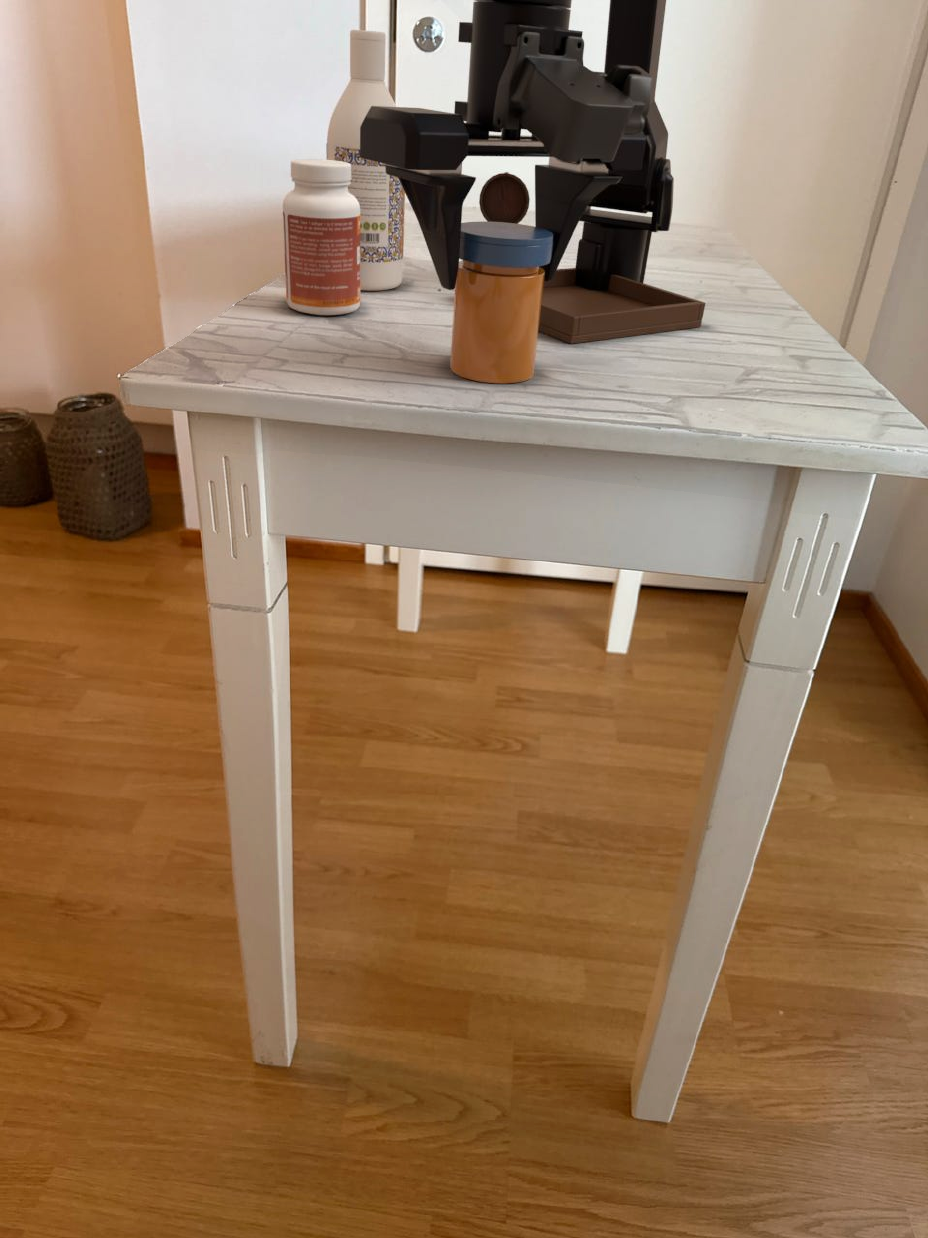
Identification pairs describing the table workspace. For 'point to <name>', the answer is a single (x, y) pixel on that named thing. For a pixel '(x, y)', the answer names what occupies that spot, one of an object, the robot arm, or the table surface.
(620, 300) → the tray
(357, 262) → the pill bottle
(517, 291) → the jar
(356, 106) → the bath foam
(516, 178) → the compass
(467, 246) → the lid
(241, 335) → the table surface
